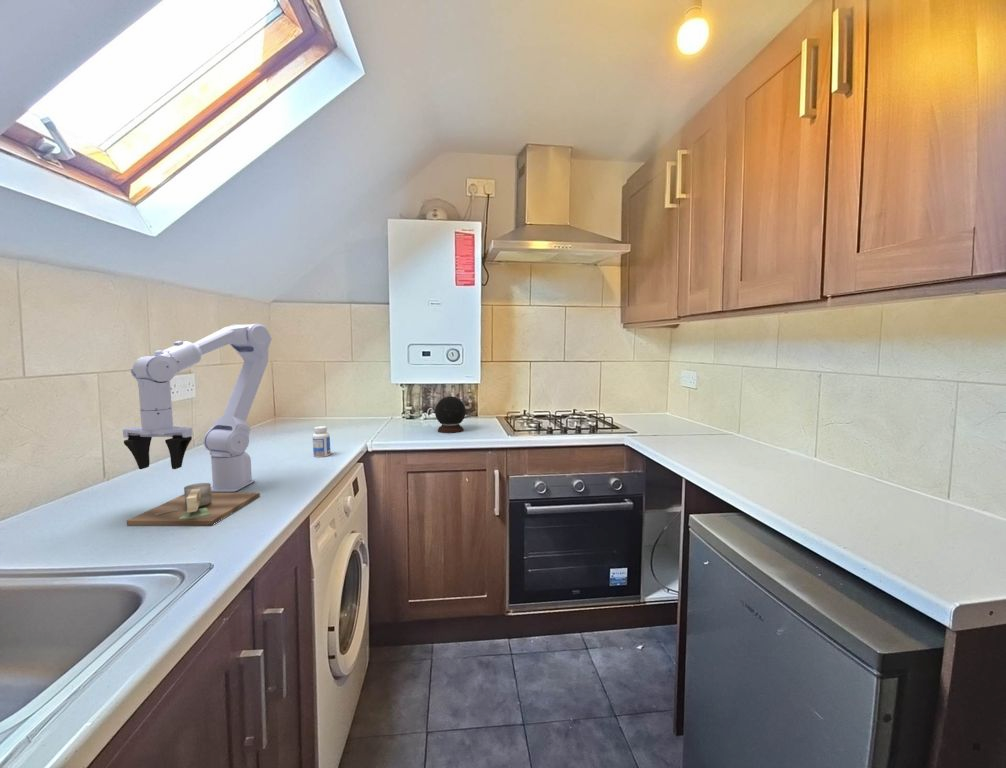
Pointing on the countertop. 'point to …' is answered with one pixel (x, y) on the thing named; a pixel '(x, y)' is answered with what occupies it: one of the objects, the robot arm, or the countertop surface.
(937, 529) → the countertop surface
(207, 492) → the beige elongated block piece
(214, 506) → the base
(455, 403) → the black ball on stand
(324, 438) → the pill bottle
